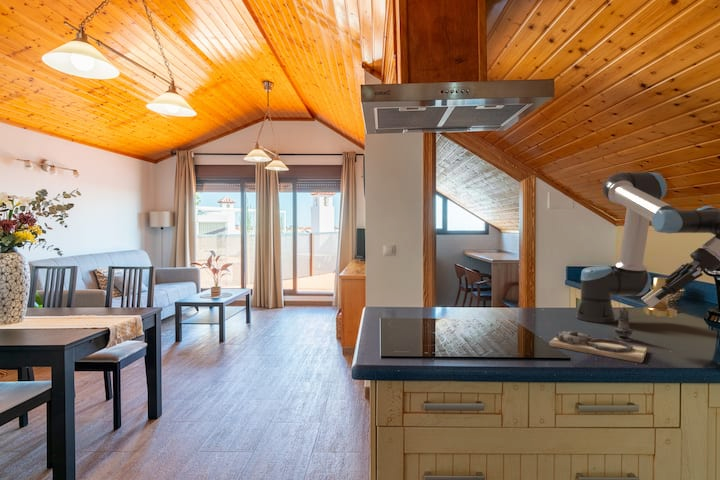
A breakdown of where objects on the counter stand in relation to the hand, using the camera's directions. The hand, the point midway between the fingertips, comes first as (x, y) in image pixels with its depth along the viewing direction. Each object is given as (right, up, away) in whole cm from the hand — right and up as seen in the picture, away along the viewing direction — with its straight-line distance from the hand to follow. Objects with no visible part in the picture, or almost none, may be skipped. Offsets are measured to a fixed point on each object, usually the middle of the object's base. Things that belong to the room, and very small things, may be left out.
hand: (646, 302), depth 130 cm
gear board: (-16, -16, +1) cm, 22 cm away
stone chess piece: (+1, -15, +13) cm, 20 cm away
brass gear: (+3, -4, -2) cm, 5 cm away
